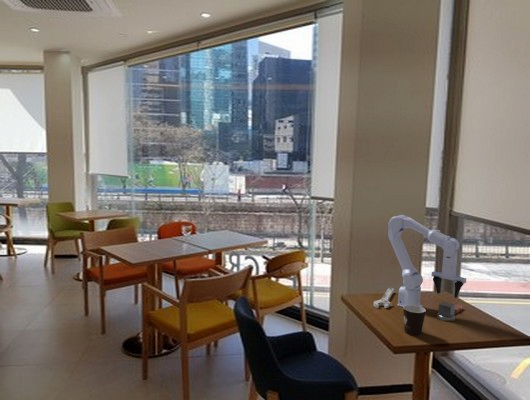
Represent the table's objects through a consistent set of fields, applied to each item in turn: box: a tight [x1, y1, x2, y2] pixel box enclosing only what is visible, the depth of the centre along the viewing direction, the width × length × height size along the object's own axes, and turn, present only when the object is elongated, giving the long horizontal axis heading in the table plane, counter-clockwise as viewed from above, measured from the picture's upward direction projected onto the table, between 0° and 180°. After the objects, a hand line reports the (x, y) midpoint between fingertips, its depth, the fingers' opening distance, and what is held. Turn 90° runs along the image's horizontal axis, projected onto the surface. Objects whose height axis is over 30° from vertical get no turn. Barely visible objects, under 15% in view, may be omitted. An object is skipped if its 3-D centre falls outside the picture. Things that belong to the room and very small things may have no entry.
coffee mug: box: [402, 305, 427, 337], centre depth 169 cm, size 12×9×10 cm
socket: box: [437, 301, 456, 318], centre depth 184 cm, size 5×5×5 cm
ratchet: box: [436, 303, 463, 323], centre depth 189 cm, size 7×22×5 cm, turn 138°
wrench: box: [372, 287, 395, 309], centre depth 207 cm, size 8×2×30 cm
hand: (447, 295), depth 187 cm, fingers open, 7 cm apart
